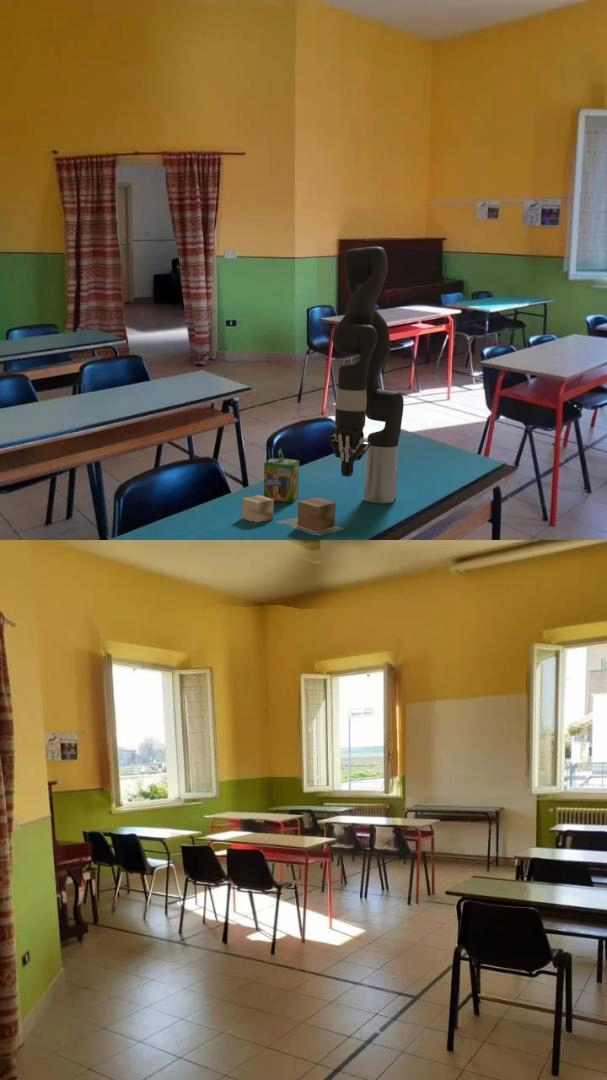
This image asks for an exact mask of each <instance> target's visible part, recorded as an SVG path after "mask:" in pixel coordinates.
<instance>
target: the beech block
mask: <svg viewBox="0 0 607 1080" xmlns="http://www.w3.org/2000/svg"><path fill="white" fill-rule="evenodd" d="M274 502H275V501H274V499H270V498H267V497H264V495H260V494H257V495H253V496H248V497H243V498H242V514H241V515H242V518H241V519H243V520H246V521H250V522H252V521H254V522H253V523H255V522H260V523H262V522H261V521H265V522H268V521H273V520H274V505H275V503H274Z"/></svg>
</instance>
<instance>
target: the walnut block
mask: <svg viewBox="0 0 607 1080" xmlns="http://www.w3.org/2000/svg"><path fill="white" fill-rule="evenodd" d="M297 502H298V503H297V517H298V524H297V527H300V528H303V529H306V530H309V531H312V532H315V533H317V532H321V531H325V530H329V529H333V528H334V527H335V526H336V525H335V524H336V523H335V522H336V508H337V506H336V504H337V503H336V502H333V501H330V500H328V499H327V500H326V499H324V498H320V497H312V498H308V499H303V500H299V501H297Z"/></svg>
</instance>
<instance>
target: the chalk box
mask: <svg viewBox="0 0 607 1080" xmlns="http://www.w3.org/2000/svg"><path fill="white" fill-rule="evenodd" d="M277 457H278V458H276V457H271V458H269V459H268V460H266V461H265V462H264V465H263V468H264V469H263V474H264V475H263V479H264V480H263V481H264V482H263V483H264V484H263V496H264V497H267V498H270V499H274V502H282V503H294V502H295V501H296V500H297V499H298V497H299V486H300V485H299V481H300V479H299V477H300V460H299V459H290V458H284V455H283V450H282V448H279V450H278V451H277Z"/></svg>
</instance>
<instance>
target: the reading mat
mask: <svg viewBox="0 0 607 1080" xmlns="http://www.w3.org/2000/svg"><path fill="white" fill-rule="evenodd" d="M276 522H277V523H276V524H278V523H279V524H278V525H281V524H282V523H285V524H289V525H291V526H292V527H293V528H292V529H294V528H295V529H294V530H296V528H298V529H299V530H305V531H307V532H310V533H313V534H314V533H315V532H312V531H309V530H306V529H303V528H300V527H297V524H298V516H296V517H290V518H287V519H283V520H282V519H281V520H278V521H276ZM299 530H298V531H299ZM341 530H345V528H343V527H340V526H336V525H335V527H334V528H333V529H329V530H325V531H321V532H317V533H315V534H323V535H326V534H330V533H334V532H338V531H341Z"/></svg>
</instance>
